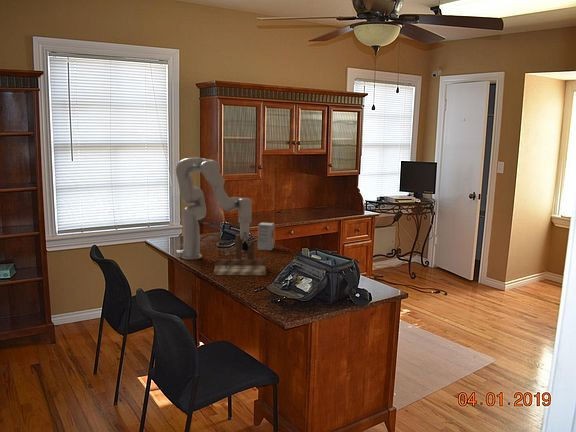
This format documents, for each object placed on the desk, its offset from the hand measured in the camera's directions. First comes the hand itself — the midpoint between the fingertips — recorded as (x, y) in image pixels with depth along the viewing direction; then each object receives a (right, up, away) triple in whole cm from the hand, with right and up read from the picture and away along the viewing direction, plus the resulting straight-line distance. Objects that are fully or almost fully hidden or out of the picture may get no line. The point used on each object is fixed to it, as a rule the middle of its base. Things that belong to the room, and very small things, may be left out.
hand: (245, 248), depth 293 cm
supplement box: (+10, -3, +42) cm, 44 cm away
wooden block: (-1, -10, +2) cm, 10 cm away
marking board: (-2, -12, -13) cm, 18 cm away
